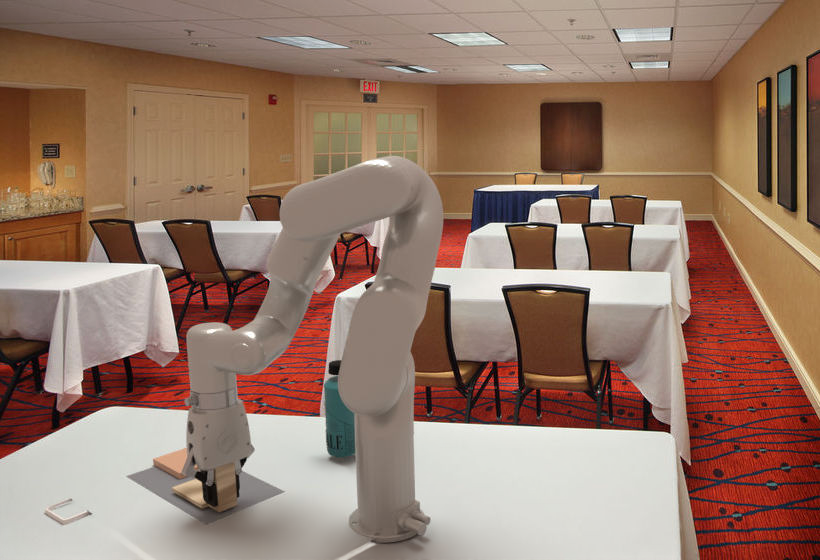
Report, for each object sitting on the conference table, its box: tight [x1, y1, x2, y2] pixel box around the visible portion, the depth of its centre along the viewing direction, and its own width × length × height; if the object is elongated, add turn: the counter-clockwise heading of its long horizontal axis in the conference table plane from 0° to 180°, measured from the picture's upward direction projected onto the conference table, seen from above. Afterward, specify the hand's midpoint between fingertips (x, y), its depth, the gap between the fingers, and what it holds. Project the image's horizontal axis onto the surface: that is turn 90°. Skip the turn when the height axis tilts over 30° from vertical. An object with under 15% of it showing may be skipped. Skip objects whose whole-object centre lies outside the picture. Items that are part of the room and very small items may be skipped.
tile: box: [152, 447, 199, 479], centre depth 153 cm, size 1×8×10 cm
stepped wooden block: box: [172, 462, 237, 512], centre depth 138 cm, size 13×6×8 cm, turn 46°
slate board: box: [126, 465, 286, 525], centre depth 145 cm, size 28×16×1 cm, turn 46°
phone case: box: [44, 498, 93, 525], centre depth 141 cm, size 7×1×15 cm
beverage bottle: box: [323, 359, 356, 458], centre depth 156 cm, size 6×7×20 cm
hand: (222, 498), depth 135 cm, fingers closed on stepped wooden block, 3 cm apart
